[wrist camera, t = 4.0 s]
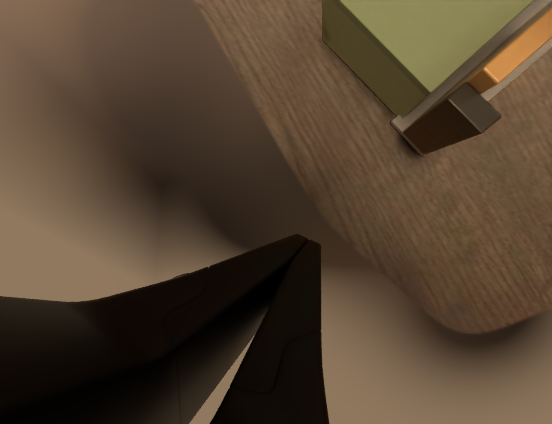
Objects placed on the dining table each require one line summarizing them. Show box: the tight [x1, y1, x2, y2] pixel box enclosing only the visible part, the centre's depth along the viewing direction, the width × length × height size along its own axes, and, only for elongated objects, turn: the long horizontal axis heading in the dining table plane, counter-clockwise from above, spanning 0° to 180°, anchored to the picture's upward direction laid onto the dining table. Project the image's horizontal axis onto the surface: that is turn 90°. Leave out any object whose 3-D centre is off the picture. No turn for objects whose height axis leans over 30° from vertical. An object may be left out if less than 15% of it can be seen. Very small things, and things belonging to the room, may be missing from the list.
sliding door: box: [403, 1, 552, 155], centre depth 13 cm, size 9×2×8 cm, turn 133°
